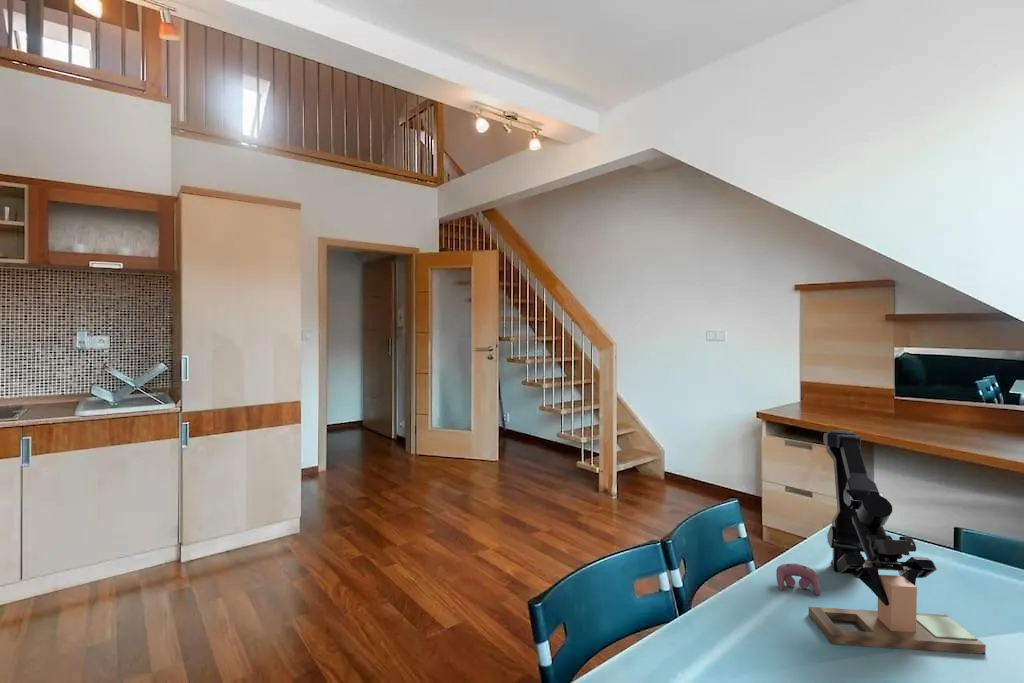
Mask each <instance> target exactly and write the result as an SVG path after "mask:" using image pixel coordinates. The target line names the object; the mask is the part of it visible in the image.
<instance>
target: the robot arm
mask: <svg viewBox="0 0 1024 683" xmlns="http://www.w3.org/2000/svg"><path fill="white" fill-rule="evenodd" d="M861 437H862V436H861V435H859V434H858V435H857V434H856V433H854V431H853V430H841V429H828V430H827V433H826V432H824V433H823V437H822V438H823V444H824V446H825V447H826V452H827V454H828V455H829V456H830V458H831V460H832V461H833V468H834V471H833V472H834V486H835V497H836V498H835V499H836V510H837V512H836V514H835V515H834V517H833V518H832V520H831V525H830V526H829V529H828V531H827V533H826V535H827V537H826V538H827V544H828V545H829V547H830V549H832V559H831V566H832V569H833V571H835V572H838V573H839V574H840V575H854V578H855V579H859V580H860V581H861V582H863V584H865V585H866V586H867V587H868V589H869V590H871V591H872V593H873V594H874V595H875V596H876V597H877V599H878V598H879V599H880V600H881V601H882V602H883V603H884V604H885V605H886V606H888V605H889V601H888V598H887V595H886V593H885V591H884V588H883V586H882V584H881V581H880V579H879V575H880V574H879V570H880V571H895V572H896V571H897V572H898V574H899V575H898V576H903V577H904V578H906V579H907V580H908V581H909V582H911V583H912V584H913V585H915V586H916V583H917V582H916V581H917V579H923V578H927V577H928V576H930V575H931V574H932V573H934V572H936V571H937V570H938V569H937V567H936V565H935V563H934V561H933V560H932V559H930V557H924V556H922V557H921V556H911V555H910V552H916V551H917V545H916V542H915V541H914V538H913V537H912V536H905V535H903V536H899V539H893V537H892V536H891V535H887V533H886V531H885V528H884V526H885V525H886V523H887V521H888V520H889V518H890V516H891V515H892V514H893V505H892V504H891V503H890V501H889V500H888V499H887V498H885V497H884V496H883V495H882V493H881V492H880V491H879V489H878V487H877V484H876V482H874V481H873V480H872V479H871V478H869V475H868V473H867V469H866V466H865V462H864V458H863V455H862V451H861V448H862V444H861V443H862V441H861V440H862V438H861ZM862 553H864V555H865V556H863V554H862ZM903 556H908V557H909V556H911V557H910V558H908V559H907V560H906V561H898V560H901V559H902V558H903ZM865 558H866V559H865Z"/></svg>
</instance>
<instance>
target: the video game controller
mask: <svg viewBox="0 0 1024 683" xmlns="http://www.w3.org/2000/svg"><path fill="white" fill-rule="evenodd" d="M775 574H776V582H777V586H778V589H779V588H780V589H781V590H780V589H779V590H780V591H783V590H784V588H785V585H787V586H788V587H790V586H792V587H795V586H796V580H795V579H794V577H800V579H799V581H798V585H799V587H800V588H801V589H803V590H805V589H808V588H809V587H810V585H811V586H812V589H813V591H814V593H815V595H816V596H817V597H818V596H820V594H821V586H820V581H819V578H818V575H817V573H816V571H814V570H813V569H812V568H810V567H808V566H806V565H802V564H797V563H782V564H780V565H778V566H777V567H776V573H775Z"/></svg>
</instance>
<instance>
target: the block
mask: <svg viewBox="0 0 1024 683" xmlns="http://www.w3.org/2000/svg"><path fill="white" fill-rule="evenodd" d="M879 579H880V581H881V584H882V586H883V588H884V591H885V593H886V595H887V598H888V601H889V605H888V606H886V605H885V604H884V603H883V602H882V601H881V600H880V599H879V598H878V597H877V611H878V617H877V618H878V619H879V620H880V621H881V622H882V623H884V624H885V625H886V626H887V627H888V628H889V629H890V630H891V631H902V632H916V613H917V599H918V598H917V596H918V593H917V592H918V591H917V590H918V587H917V586H916V584H915V585H913V584H912V583H911V582H909V581H908V580H907V579H906V578H904V577H903V576H900V575H893V574H892V575H891V574H889V575H888V574H879Z"/></svg>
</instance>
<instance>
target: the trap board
mask: <svg viewBox="0 0 1024 683" xmlns="http://www.w3.org/2000/svg"><path fill="white" fill-rule="evenodd" d="M808 616H809V617H810V619H811V620H812V621H813V622H814V623H815V625H816V626H817V628H818V629H819V630H820V631H821V632H822V634H824V636H825V637H826V639H827V640H828V641H829V642H830V644H832V645H842V644H847V645H846V646H856V645H859V646H861V647H871V646H872V647H873V648H888V649H889V648H890V649H900V650H901V649H902V650H903V649H905V650H918V651H930V650H936V651H935V652H944V651H948V652H947V653H959V652H967V653H966V654H974V653H985V654H986V644H985V643H983V642H982V640H980V639H978V638H977V636H975V635H974V634H972V632H970V631H969V630H967V629H966V628H965V627H964V626H962V625H961V624H960V623H958V622H957V621H956V620H954V619H953V618H951V616H949V615H948V614H941V613H940V614H938V613H937V614H936V613H921V612H916V632H902V631H891V630H890V629H889V628H888V627H887V626H886V625H885V624H884V623H882V622H881V621H880V620H879V619H878V618H877V617H878V610H870V609H857V608H856V609H854V608H853V609H852V608H839V607H837V608H836V607H821V606H808ZM859 646H858V647H859Z"/></svg>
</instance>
